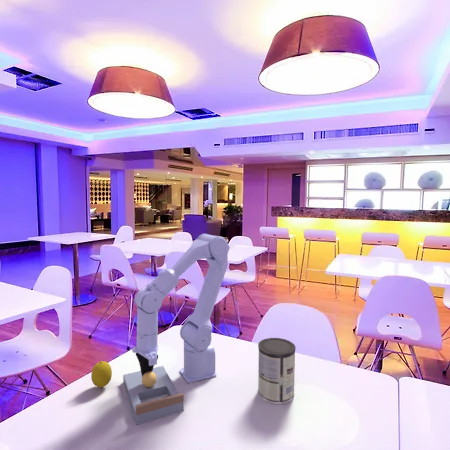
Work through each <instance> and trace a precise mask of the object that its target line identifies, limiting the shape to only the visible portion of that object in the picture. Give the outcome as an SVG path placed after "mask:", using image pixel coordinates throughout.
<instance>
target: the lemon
mask: <svg viewBox="0 0 450 450" xmlns="http://www.w3.org/2000/svg"><path fill="white" fill-rule="evenodd" d="M90 375H91V382H92V384H93V385H94V386H95V387H97V388H100V389H103V388H104V387H106V386H107V385H109V384H110V382H111V380H112V375H113V371H112V366H111V365H110V364H109V363H108V362H107V361H103V360H100V361H98V362H97V363H95V364H94V366H93V367H92V370H91V374H90Z"/></svg>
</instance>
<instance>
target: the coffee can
mask: <svg viewBox="0 0 450 450" xmlns="http://www.w3.org/2000/svg"><path fill="white" fill-rule="evenodd" d="M257 345H258V346H257V347H258V371H257V372H258V380H257V381H258V383H257V384H258V388H257V393H258V396H259V397H260V399H262V400H263V401H265V402H266V403H269V404H271V405H272V404H274V405H286V404H289V403H290V402H292V401H293V400H294V398H295V370H296V369H295V368H296V367H295V366H296V363H295V361H296V359H295V358H296V344H295V343H293V342H292V341H290V340H288V339H285V338H281V337H269V338H264V339H262V340H260V341H259V342H258V343H257Z"/></svg>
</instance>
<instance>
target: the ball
mask: <svg viewBox="0 0 450 450" xmlns="http://www.w3.org/2000/svg"><path fill="white" fill-rule="evenodd" d="M156 379H157V378H156V375H155V373H153V372H151V371H149V372H146V373H145V374H144V375H143V377H142V383H143V385H144V386H145V387H152V386H153V385H154V384H155V383H156Z"/></svg>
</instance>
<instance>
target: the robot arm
mask: <svg viewBox="0 0 450 450" xmlns="http://www.w3.org/2000/svg"><path fill="white" fill-rule="evenodd" d="M230 248H231V247H230V245H229V243H228V241H227V239H226V238H225V237H223V236H220V235H219V236H218V235H212V234H208V233H202V234H199V235H198V236H197V238H195V240H193V241H192V243H191V245H190V247H189V248H188V249H187V250H186V251H185V252H184V253H183V254H182V255H181V257H180V258H179V259H178V260H177V261H176V262H175V264H173V266H172V267H171V268H164V269H163V270H160V271H158V273H157V274H158V275H157V276H156V277H155V278H154V279H153V280H152V281H151V282H150V283H148V284H146V285H145V287H143V288H141V289H139V290H138V291H137V292H136V294H135V296H134V298H133V302H134V304H135V306H136V307H137V309H136V310H137V312H136V313H137V314H136V346H134V347H132V349H131V352H132V354H133V353H134V354H135V356H136V358H137V360H138V364H139V368H140V371H141V374H142V377H143V375H144V374H145V373H146V372H149V371H151V372H152V371H153V368H155V365H158V360H159V355H158V350H159V345H158V336H159V335H158V334H159V333H158V332H159V330H158V327H159V326H158V325H159V310H160V309H161V307H162V304H163V300H164V299H165V298H166V297H167V295H169V293H170V292H171V291H173V290H174V289H175V287H176V286H177V285H178V284H179V282H180V277H181V276H182V275H183V274H184V273H185V272H186V271H187V270H188V269H189V268H190V267H192V266H193V265H194V264H195V263H196V262H197V261H199V260H201V259H203V260H204V259H205V260H206V262H207V264H208V266H209V267H208V268H207V269H208V270H207V272H206V275H205V278H204V281H203V283H202V287H201V290H200V293H199V296H198V298H197V302H196V304H195V307H194V311H193V312H192V314H189V315H188V316H187V318H186V320H185V322H184V324H183V325H182V326H181V328H180V331H179V335H180V338H181V339H182V341H183V368H180V369H179V372H180V373H181V376H182V377H183V378H184V379H185V382H186V383H188V384H190V383H194V382H199V381H202V380H205V379H209V378H213V377H216V376H217V373H216V351H215V348H214V345H213V344H212V333H213V332H212V331H213V325H212V322H211V316H212V313H213V310H214V308H215V305H216V302H217V298H218V295H219V293H220V289H221V287H222V284H223V281H224V277H225V274H226V271H227V270H228V269H227V268H228V265H229V260H228V254H229V250H230Z"/></svg>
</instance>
